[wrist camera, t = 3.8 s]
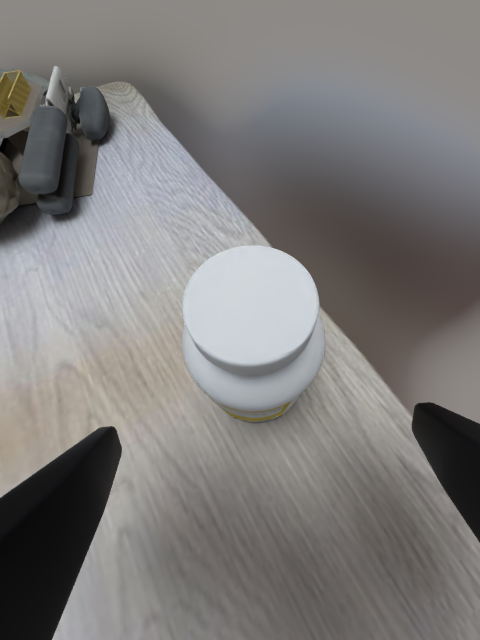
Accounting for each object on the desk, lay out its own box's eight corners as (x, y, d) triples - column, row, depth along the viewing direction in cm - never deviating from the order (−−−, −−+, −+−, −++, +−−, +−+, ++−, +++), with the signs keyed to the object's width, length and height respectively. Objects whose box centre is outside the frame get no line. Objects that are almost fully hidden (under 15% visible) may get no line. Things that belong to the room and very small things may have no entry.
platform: (103, 105, 37) (75, 39, 31) (91, 194, 29) (50, 130, 23) (16, 117, 37) (-30, 53, 31) (-19, 210, 29) (-90, 149, 23)
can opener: (37, 60, 30) (97, 59, 31) (62, 111, 35) (113, 109, 35) (8, 176, 22) (87, 171, 23) (44, 221, 27) (109, 216, 28)
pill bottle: (278, 324, 21) (296, 204, 11) (316, 403, 18) (392, 347, 8) (200, 353, 21) (138, 256, 10) (227, 439, 18) (182, 431, 7)
